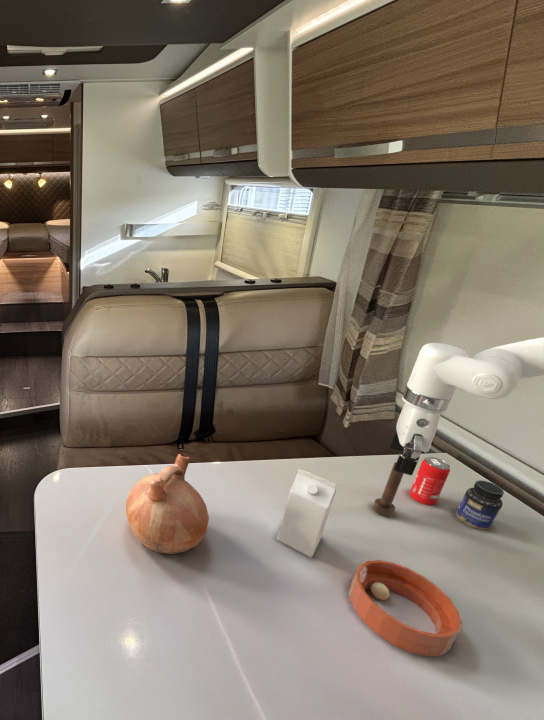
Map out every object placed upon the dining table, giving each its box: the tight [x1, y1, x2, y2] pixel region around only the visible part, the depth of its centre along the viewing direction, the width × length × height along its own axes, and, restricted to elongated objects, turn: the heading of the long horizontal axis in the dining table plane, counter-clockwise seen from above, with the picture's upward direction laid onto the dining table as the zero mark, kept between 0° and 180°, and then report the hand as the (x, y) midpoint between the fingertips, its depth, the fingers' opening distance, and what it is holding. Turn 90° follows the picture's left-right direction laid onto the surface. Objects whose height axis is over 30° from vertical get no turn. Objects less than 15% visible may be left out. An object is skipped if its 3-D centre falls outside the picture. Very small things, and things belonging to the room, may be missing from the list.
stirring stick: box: [372, 461, 405, 518], centre depth 103 cm, size 4×4×15 cm
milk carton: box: [276, 468, 338, 558], centre depth 95 cm, size 7×7×19 cm
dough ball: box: [369, 582, 390, 601], centre depth 85 cm, size 3×3×3 cm
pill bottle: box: [455, 479, 505, 531], centre depth 101 cm, size 6×6×11 cm
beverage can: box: [409, 456, 451, 506], centre depth 108 cm, size 5×5×12 cm
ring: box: [348, 559, 463, 658], centre depth 81 cm, size 15×15×6 cm
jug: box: [125, 453, 210, 555], centre depth 97 cm, size 18×18×20 cm
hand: (400, 460), depth 100 cm, fingers open, 9 cm apart
